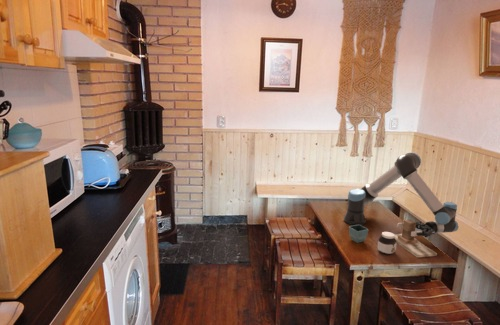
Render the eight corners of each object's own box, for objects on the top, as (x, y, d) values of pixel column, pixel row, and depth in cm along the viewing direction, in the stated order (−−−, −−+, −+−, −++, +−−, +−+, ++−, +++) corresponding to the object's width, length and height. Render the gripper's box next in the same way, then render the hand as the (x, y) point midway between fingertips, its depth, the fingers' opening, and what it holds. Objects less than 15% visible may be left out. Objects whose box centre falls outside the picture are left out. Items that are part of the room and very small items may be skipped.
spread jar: (384, 256, 193) (386, 238, 191) (370, 248, 204) (372, 230, 201) (400, 253, 198) (402, 234, 196) (385, 244, 208) (387, 227, 206)
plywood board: (417, 257, 193) (417, 255, 193) (388, 236, 220) (388, 234, 219) (436, 255, 195) (437, 253, 195) (406, 235, 222) (406, 233, 222)
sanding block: (404, 243, 207) (407, 224, 204) (397, 238, 214) (399, 219, 211) (417, 242, 209) (420, 223, 206) (410, 237, 215) (412, 218, 212)
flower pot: (347, 239, 216) (348, 226, 214) (358, 237, 219) (359, 224, 217) (356, 245, 208) (357, 231, 206) (367, 242, 211) (368, 229, 209)
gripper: (448, 241, 202) (416, 243, 198) (419, 225, 226) (391, 227, 221) (449, 229, 200) (418, 232, 196) (421, 214, 224) (392, 216, 220)
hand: (404, 229), depth 209 cm, fingers open, 13 cm apart
